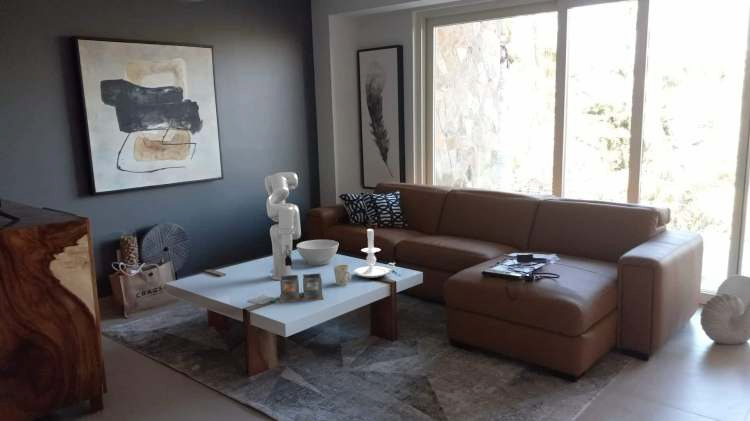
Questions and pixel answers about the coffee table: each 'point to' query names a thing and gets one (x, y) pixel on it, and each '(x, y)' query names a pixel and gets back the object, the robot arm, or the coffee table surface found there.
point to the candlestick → (372, 261)
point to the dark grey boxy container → (310, 288)
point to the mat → (262, 299)
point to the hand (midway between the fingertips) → (288, 263)
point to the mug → (342, 274)
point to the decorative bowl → (317, 251)
